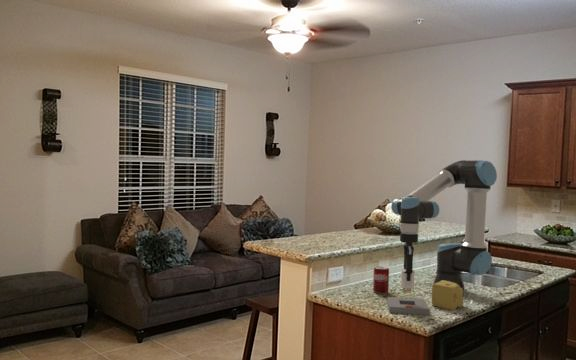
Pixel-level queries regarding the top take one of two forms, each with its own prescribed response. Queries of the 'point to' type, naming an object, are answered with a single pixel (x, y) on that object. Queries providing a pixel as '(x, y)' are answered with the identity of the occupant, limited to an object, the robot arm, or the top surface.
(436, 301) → the cheese
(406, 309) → the socket
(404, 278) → the plug
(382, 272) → the soda can
